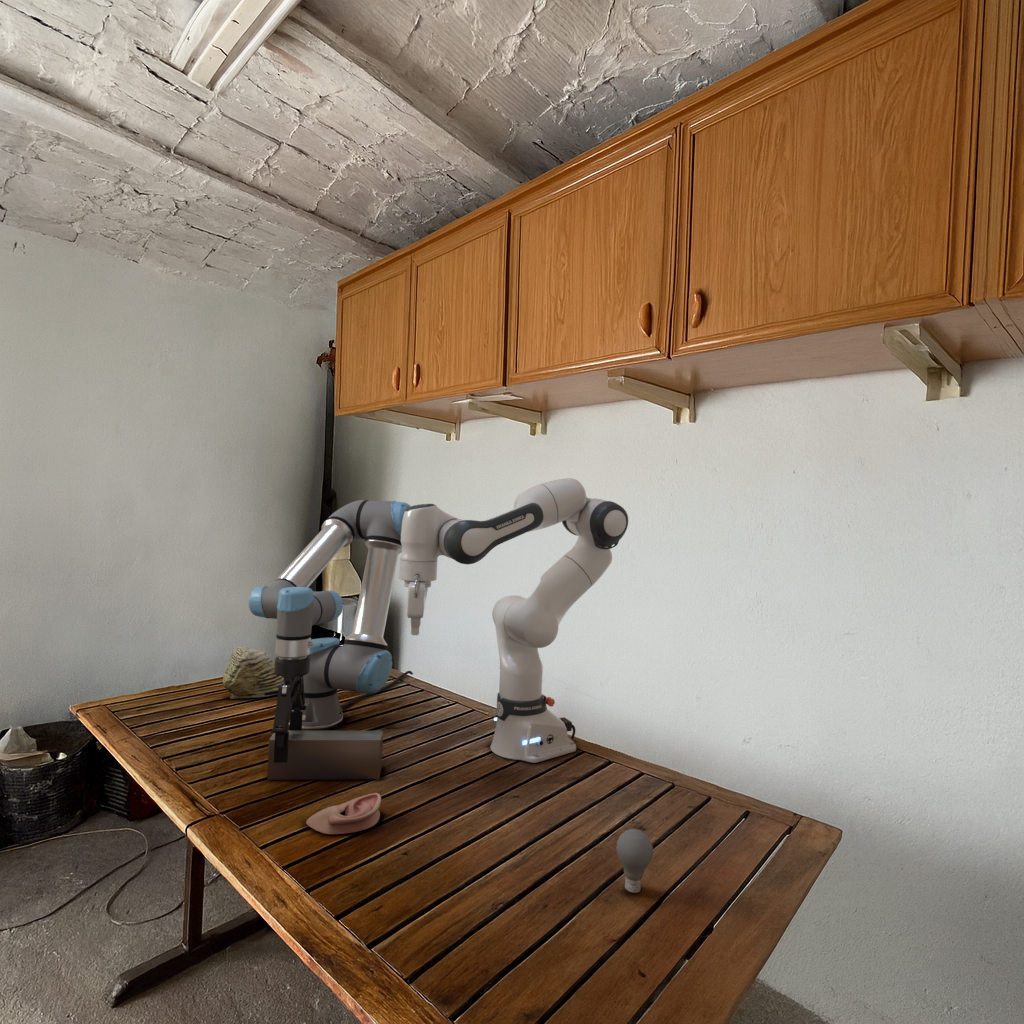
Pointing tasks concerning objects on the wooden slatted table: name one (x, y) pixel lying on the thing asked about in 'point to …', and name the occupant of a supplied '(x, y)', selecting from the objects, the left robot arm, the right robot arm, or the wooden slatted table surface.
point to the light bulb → (634, 857)
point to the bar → (328, 756)
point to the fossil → (251, 674)
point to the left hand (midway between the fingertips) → (288, 750)
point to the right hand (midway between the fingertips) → (415, 630)
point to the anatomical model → (347, 816)
